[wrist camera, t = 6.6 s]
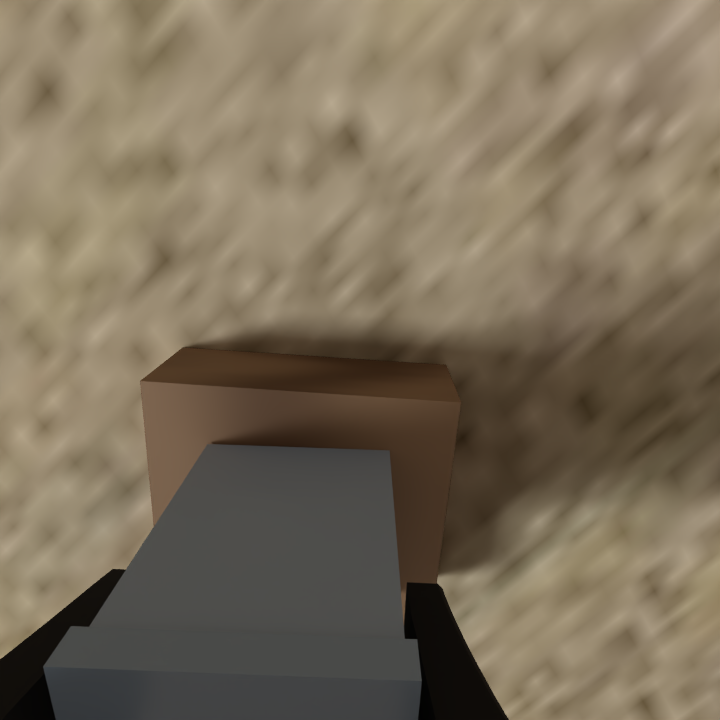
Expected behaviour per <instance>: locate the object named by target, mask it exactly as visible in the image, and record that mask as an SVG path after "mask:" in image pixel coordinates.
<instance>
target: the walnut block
mask: <svg viewBox="0 0 720 720" xmlns="http://www.w3.org/2000/svg"><path fill="white" fill-rule="evenodd" d="M140 385H141V395H142V406H143V417H144V427H145V438H146V449H147V459H148V470H149V481H150V491H151V502H152V512H153V523H154V526H155V524H156V523H157V521H158V520H159V518H160V517H161V515H162V513H163V512H164V510H165V509H166V507H167V506H168V504H169V503H170V501H171V500H172V498H173V496H174V495H175V493H176V492H177V490H178V489H179V487H180V486H181V484H182V483H183V481H184V479H185V478H186V476H187V475H188V473H189V472H190V470H191V469H192V467H193V466H194V464H195V463H196V461H197V459H198V458H199V456H200V455H201V453H202V452H203V450H204V449H205V447H206V446H207V444H222V445H250V446H278V447H307V448H335V449H363V450H390V463H391V475H392V487H393V500H394V512H395V525H396V537H397V549H398V562H399V574H400V586H401V599H402V611H403V624H404V615H405V600H406V586H407V582H413V583H435V584H437V577H438V569H439V562H440V555H441V547H442V540H443V533H444V525H445V518H446V511H447V503H448V496H449V489H450V481H451V474H452V467H453V460H454V452H455V445H456V438H457V430H458V423H459V416H460V408H461V401H460V398H459V396H458V393H457V391H456V388H455V386H454V383H453V381H452V378H451V376H450V373H449V371H448V368H447V366H446V365H440V364H425V363H410V362H394V361H379V360H364V359H349V358H334V357H319V356H304V355H289V354H274V353H259V352H244V351H228V350H213V349H198V348H182V349H180V350H179V351H178V352H176V353H175V354H174V355H173V356H171V357H170V358H169V359H168V360H166V361H165V362H164V363H163V364H161V365H160V366H159V367H157V368H156V369H155V370H154V371H152V372H151V373H150V374H149V375H147V376H146V377H145V378H143V379H142V380H141V381H140Z"/></svg>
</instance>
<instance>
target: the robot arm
mask: <svg viewBox="0 0 720 720" xmlns="http://www.w3.org/2000/svg"><path fill="white" fill-rule="evenodd" d="M125 571H126V570H122V569H112V570H111V571H110V572H109V573H107V574H106V575H105V576H103V577H102V578H101V579H100V580H98V581H97V582H96V583H95V584H93V585H92V586H91V587H90V588H88V589H87V590H86V591H85V592H84V593H82V594H81V595H80V596H79V597H77V598H76V599H75V600H74V601H73V602H71V603H70V604H69V605H68V606H66V607H65V608H64V609H63V610H62V611H60V612H59V613H58V614H57V615H55V616H54V617H53V618H52V619H51V620H49V621H48V622H47V623H46V624H44V625H43V626H42V627H41V628H39V629H38V630H37V631H36V632H34V633H33V634H32V635H31V636H29V637H28V638H27V639H25V640H24V641H23V642H22V643H20V644H19V645H18V646H17V647H15V648H14V649H13V650H12V651H10V652H9V653H8V654H7V655H5V656H4V657H3V658H1V659H0V720H56V718H55V714H54V710H53V706H52V702H51V697H50V693H49V689H48V685H47V681H46V677H45V672H44V668H43V666H44V665H45V663H46V662H47V660H48V659H49V657H50V656H51V654H52V653H53V652H54V650H55V649H56V647H57V646H58V644H59V643H60V641H61V640H62V639H63V637H64V636H65V634H66V633H67V631H68V630H69V628H70V627H71V626H80V627H89V626H90V625H91V623H92V622H93V620H94V618H95V617H96V615H97V614H98V612H99V611H100V609H101V608H102V606H103V605H104V603H105V601H106V600H107V598H108V597H109V595H110V594H111V592H112V591H113V589H114V588H115V586H116V584H117V583H118V581H119V580H120V578H121V577H122V575H123V574H124V572H125ZM404 636H405V639H417V642H418V651H419V661H420V670H421V679H422V684H421V694H420V704H419V715H418V720H509V719H508V718H507V716H506V715H505V713H504V711H503V709H502V708H501V706H500V704H499V703H498V701H497V699H496V697H495V696H494V694H493V692H492V690H491V689H490V687H489V685H488V683H487V681H486V679H485V678H484V676H483V674H482V672H481V670H480V668H479V667H478V665H477V663H476V661H475V659H474V657H473V655H472V653H471V652H470V650H469V648H468V646H467V644H466V642H465V640H464V637H463V635H462V633H461V631H460V629H459V627H458V625H457V623H456V621H455V618H454V616H453V614H452V612H451V609H450V607H449V605H448V602H447V600H446V597H445V595H444V592H443V589H442V588H441V587H440V586H439V585H438V584H435V583H413V582H407V586H406V600H405V615H404Z"/></svg>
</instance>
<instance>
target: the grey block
mask: <svg viewBox="0 0 720 720" xmlns="http://www.w3.org/2000/svg"><path fill="white" fill-rule="evenodd" d="M43 668H44V672H45V677H46V681H47V685H48V689H49V693H50V697H51V702H52V706H53V710H54V714H55V718H56V720H418V715H419V704H420V694H421V684H422V679H421V670H420V661H419V651H418V642H417V639H405V636H404V624H403V611H402V599H401V586H400V574H399V562H398V549H397V537H396V525H395V512H394V500H393V487H392V475H391V463H390V450H363V449H335V448H307V447H278V446H250V445H222V444H207V446H206V447H205V449H204V450H203V452H202V453H201V455H200V456H199V458H198V459H197V461H196V463H195V464H194V466H193V467H192V469H191V470H190V472H189V473H188V475H187V476H186V478H185V479H184V481H183V483H182V484H181V486H180V487H179V489H178V490H177V492H176V493H175V495H174V496H173V498H172V500H171V501H170V503H169V504H168V506H167V507H166V509H165V510H164V512H163V513H162V515H161V517H160V518H159V520H158V521H157V523H156V524H155V526H154V527H153V529H152V530H151V532H150V534H149V535H148V537H147V538H146V540H145V541H144V543H143V544H142V546H141V547H140V549H139V550H138V552H137V554H136V555H135V557H134V558H133V560H132V561H131V563H130V564H129V566H128V567H127V569H126V571H125V572H124V574H123V575H122V577H121V578H120V580H119V581H118V583H117V584H116V586H115V588H114V589H113V591H112V592H111V594H110V595H109V597H108V598H107V600H106V601H105V603H104V605H103V606H102V608H101V609H100V611H99V612H98V614H97V615H96V617H95V618H94V620H93V622H92V623H91V625H90V626H89V627H80V626H71V627H70V628H69V630H68V631H67V633H66V634H65V636H64V637H63V639H62V640H61V641H60V643H59V644H58V646H57V647H56V649H55V650H54V652H53V653H52V654H51V656H50V657H49V659H48V660H47V662H46V663H45V665H44V666H43Z"/></svg>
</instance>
